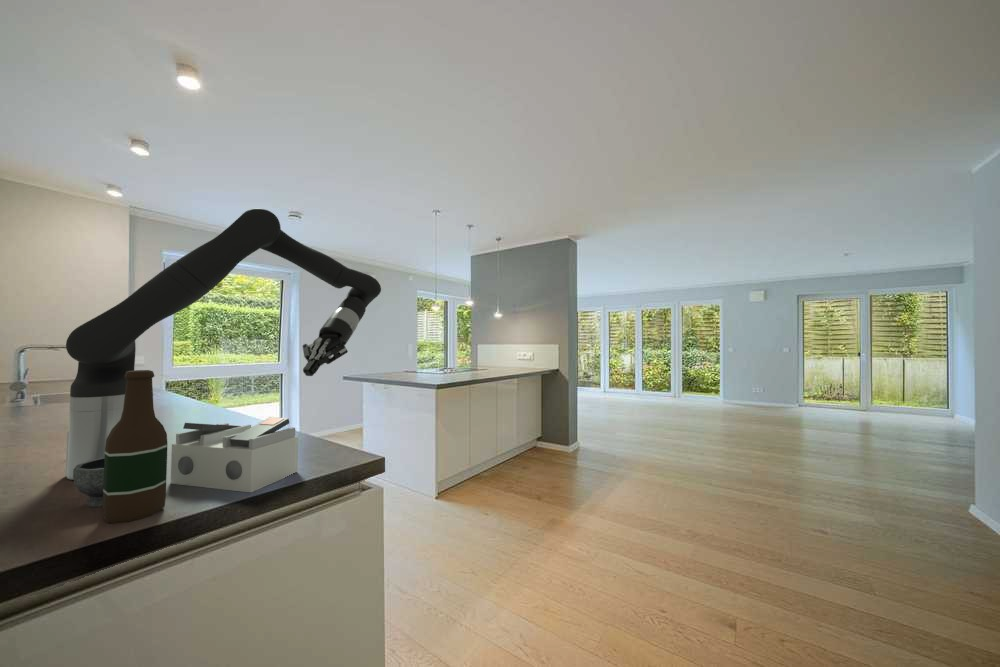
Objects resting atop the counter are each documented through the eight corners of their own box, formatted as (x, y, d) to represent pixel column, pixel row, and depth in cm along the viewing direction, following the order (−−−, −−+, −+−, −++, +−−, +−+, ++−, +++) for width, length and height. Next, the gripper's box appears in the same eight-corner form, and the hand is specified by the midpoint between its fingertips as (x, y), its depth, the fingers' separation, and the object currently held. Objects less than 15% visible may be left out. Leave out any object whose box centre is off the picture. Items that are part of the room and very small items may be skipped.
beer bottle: (125, 526, 59) (131, 372, 60) (87, 521, 60) (93, 371, 61) (177, 505, 66) (181, 369, 67) (142, 502, 68) (147, 368, 69)
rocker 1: (183, 428, 78) (185, 422, 79) (226, 431, 87) (227, 425, 88) (202, 429, 77) (204, 423, 77) (243, 432, 86) (245, 426, 87)
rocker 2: (231, 444, 76) (229, 438, 75) (270, 422, 85) (269, 416, 85) (251, 446, 74) (250, 439, 74) (289, 423, 84) (288, 417, 84)
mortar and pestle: (113, 510, 65) (116, 439, 65) (54, 512, 64) (57, 440, 64) (166, 486, 76) (168, 426, 76) (117, 487, 75) (119, 426, 75)
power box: (168, 484, 77) (170, 434, 77) (225, 465, 89) (226, 422, 89) (249, 493, 72) (250, 440, 73) (297, 472, 84) (298, 427, 85)
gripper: (313, 317, 104) (276, 363, 92) (355, 316, 101) (323, 364, 89) (325, 336, 109) (292, 382, 97) (366, 336, 106) (337, 384, 94)
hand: (307, 373), depth 93 cm, fingers closed
